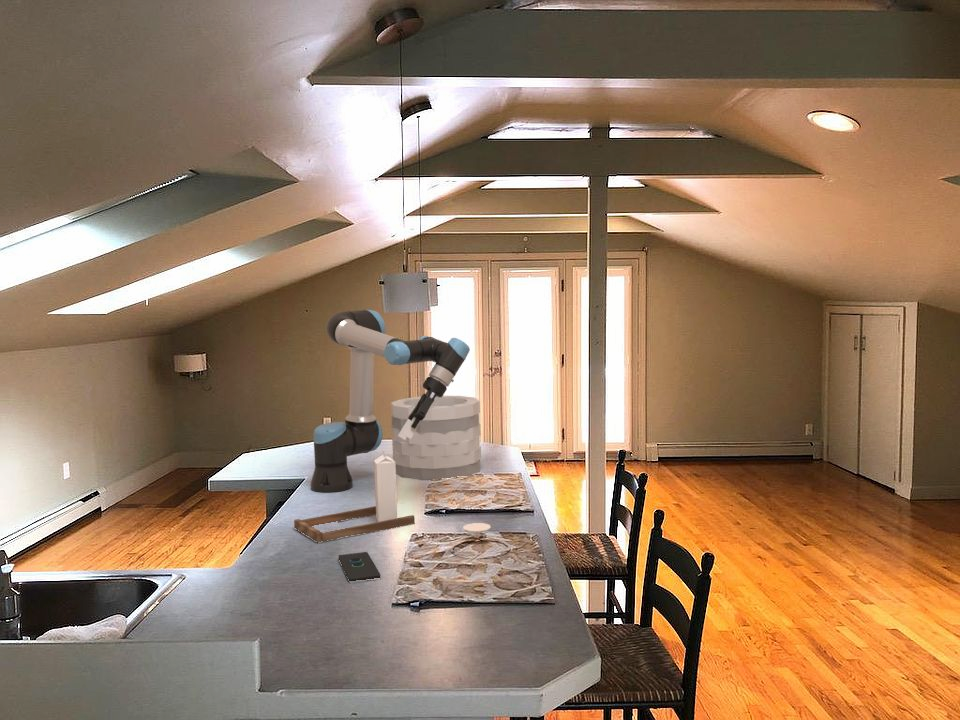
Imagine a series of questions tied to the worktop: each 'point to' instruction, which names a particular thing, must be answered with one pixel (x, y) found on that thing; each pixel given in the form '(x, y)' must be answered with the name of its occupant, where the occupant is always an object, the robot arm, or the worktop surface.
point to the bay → (318, 536)
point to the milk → (385, 488)
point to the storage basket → (438, 439)
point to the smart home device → (359, 566)
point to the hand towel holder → (477, 528)
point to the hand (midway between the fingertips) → (403, 437)
